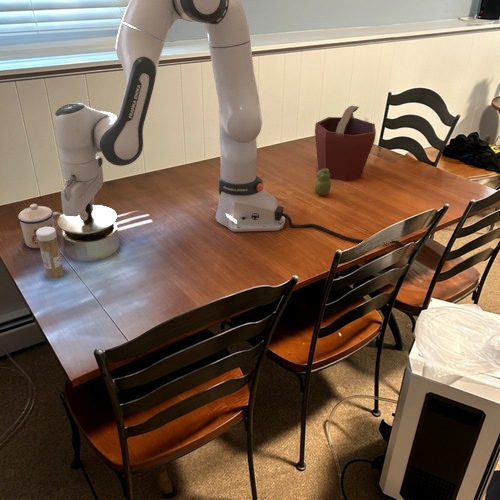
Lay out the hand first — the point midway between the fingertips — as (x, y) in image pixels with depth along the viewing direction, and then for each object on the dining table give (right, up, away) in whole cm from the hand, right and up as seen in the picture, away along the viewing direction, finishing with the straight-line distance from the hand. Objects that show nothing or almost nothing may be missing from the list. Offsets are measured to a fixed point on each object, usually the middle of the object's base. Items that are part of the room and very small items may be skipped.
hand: (87, 215), depth 133 cm
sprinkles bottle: (-6, -16, -6) cm, 18 cm away
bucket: (+81, +21, +59) cm, 102 cm away
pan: (0, -9, +6) cm, 11 cm away
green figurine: (+70, +10, +40) cm, 82 cm away
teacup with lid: (-15, -6, +9) cm, 19 cm away
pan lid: (0, -1, +1) cm, 1 cm away
